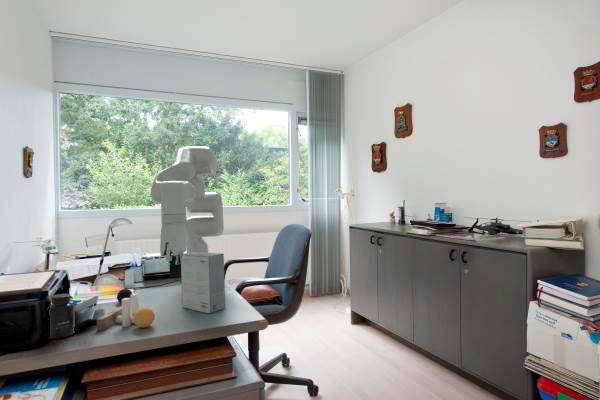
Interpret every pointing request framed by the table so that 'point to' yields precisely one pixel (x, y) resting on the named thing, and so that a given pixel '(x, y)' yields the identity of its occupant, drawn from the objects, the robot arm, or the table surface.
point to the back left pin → (126, 312)
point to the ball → (144, 317)
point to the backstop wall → (108, 319)
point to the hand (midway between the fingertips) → (175, 276)
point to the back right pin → (134, 304)
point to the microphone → (123, 294)
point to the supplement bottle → (61, 316)
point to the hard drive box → (203, 281)
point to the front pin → (119, 319)
